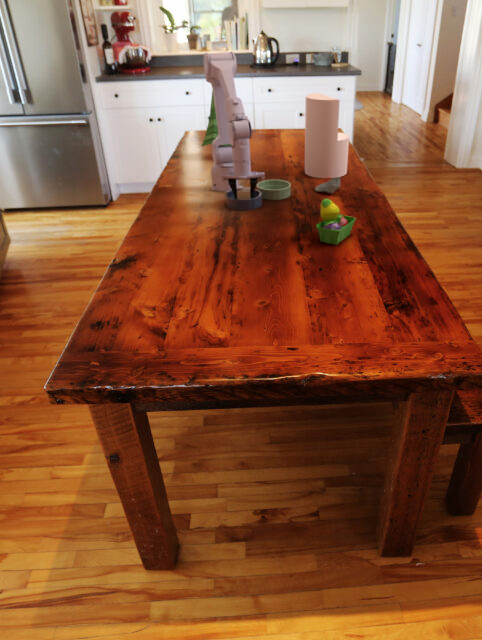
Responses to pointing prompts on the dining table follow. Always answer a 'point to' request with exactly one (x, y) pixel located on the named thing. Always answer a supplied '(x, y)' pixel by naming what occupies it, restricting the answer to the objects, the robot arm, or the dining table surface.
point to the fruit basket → (333, 223)
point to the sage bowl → (274, 189)
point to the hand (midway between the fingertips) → (244, 201)
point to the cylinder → (324, 138)
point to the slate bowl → (244, 201)
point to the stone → (329, 186)
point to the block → (243, 193)
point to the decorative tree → (212, 126)
